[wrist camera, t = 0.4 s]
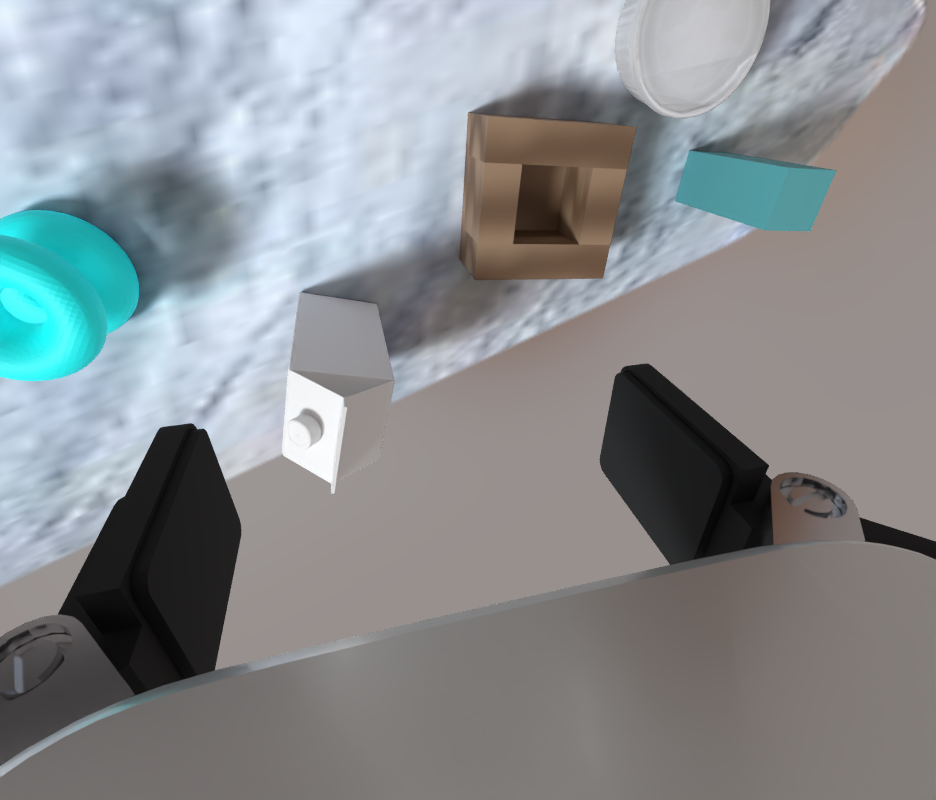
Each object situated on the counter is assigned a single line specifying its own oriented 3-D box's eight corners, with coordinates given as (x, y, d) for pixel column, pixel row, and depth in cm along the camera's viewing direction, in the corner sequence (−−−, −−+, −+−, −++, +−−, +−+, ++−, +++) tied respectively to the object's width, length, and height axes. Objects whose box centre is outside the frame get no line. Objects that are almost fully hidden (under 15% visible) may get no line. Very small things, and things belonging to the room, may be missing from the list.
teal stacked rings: (-117, 350, 30) (-91, 206, 26) (-21, 294, 38) (8, 178, 35) (74, 409, 34) (117, 292, 31) (123, 347, 43) (161, 250, 39)
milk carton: (377, 302, 46) (402, 411, 30) (366, 367, 49) (384, 495, 34) (299, 290, 44) (283, 401, 28) (293, 359, 47) (276, 492, 32)
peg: (689, 150, 45) (788, 167, 36) (729, 153, 46) (836, 170, 37) (675, 201, 48) (764, 230, 38) (713, 202, 49) (810, 231, 39)
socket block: (468, 112, 39) (488, 116, 34) (600, 122, 42) (636, 126, 37) (459, 259, 46) (475, 279, 41) (575, 259, 48) (602, 278, 44)
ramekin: (639, 144, 44) (673, 150, 40) (576, 27, 38) (608, 19, 34) (743, 46, 42) (790, 41, 37) (693, -96, 36) (743, -121, 31)
